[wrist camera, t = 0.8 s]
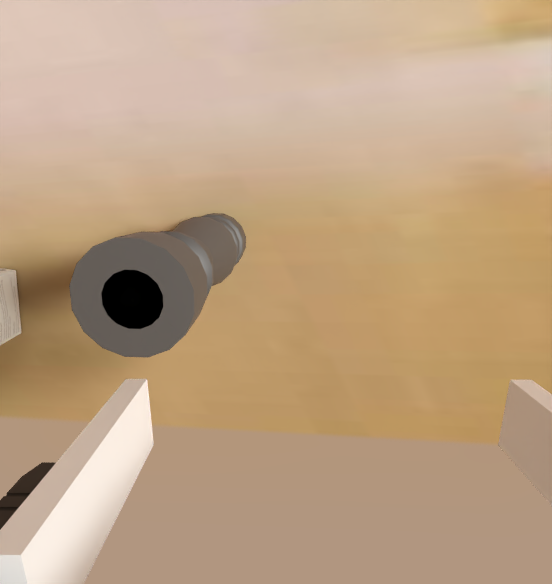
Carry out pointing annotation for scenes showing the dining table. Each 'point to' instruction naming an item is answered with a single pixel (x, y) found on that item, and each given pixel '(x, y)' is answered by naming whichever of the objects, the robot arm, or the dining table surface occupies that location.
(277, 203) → the dining table surface
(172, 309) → the candle holder
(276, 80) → the dining table surface
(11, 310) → the skincare box
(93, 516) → the robot arm
